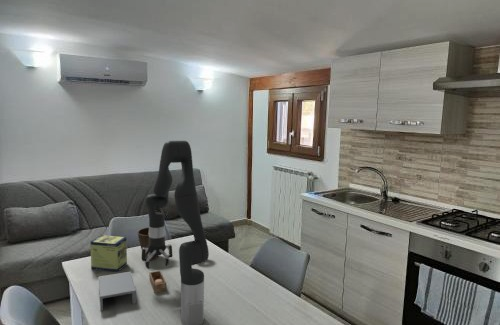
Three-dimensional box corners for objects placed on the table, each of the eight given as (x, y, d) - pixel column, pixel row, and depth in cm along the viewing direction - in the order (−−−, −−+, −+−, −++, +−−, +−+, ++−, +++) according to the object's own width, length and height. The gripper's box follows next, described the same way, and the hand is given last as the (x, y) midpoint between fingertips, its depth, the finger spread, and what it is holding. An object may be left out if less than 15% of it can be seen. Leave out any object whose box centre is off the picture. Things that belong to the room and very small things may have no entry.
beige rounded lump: (163, 289, 167) (163, 281, 166) (155, 290, 165) (155, 283, 165) (161, 286, 170) (161, 278, 169) (154, 287, 168) (154, 279, 168)
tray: (160, 279, 178) (160, 270, 178) (166, 291, 166) (166, 282, 165) (149, 280, 176) (149, 272, 175) (154, 294, 163) (154, 284, 163)
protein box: (117, 272, 185) (117, 243, 183) (90, 269, 187) (89, 241, 185) (127, 263, 195) (127, 237, 193) (101, 261, 197) (100, 234, 195)
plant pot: (138, 253, 209) (137, 227, 207) (163, 251, 214) (163, 226, 211) (138, 264, 195) (137, 236, 193) (165, 261, 199) (165, 234, 197)
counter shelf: (136, 304, 154) (135, 290, 153) (100, 311, 148) (99, 296, 147) (131, 284, 172) (130, 271, 171) (99, 289, 166) (98, 276, 165)
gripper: (142, 239, 161) (143, 272, 163) (173, 235, 167) (173, 267, 169) (140, 233, 168) (140, 266, 170) (170, 230, 174) (170, 261, 176)
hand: (157, 266), depth 170 cm, fingers open, 8 cm apart
